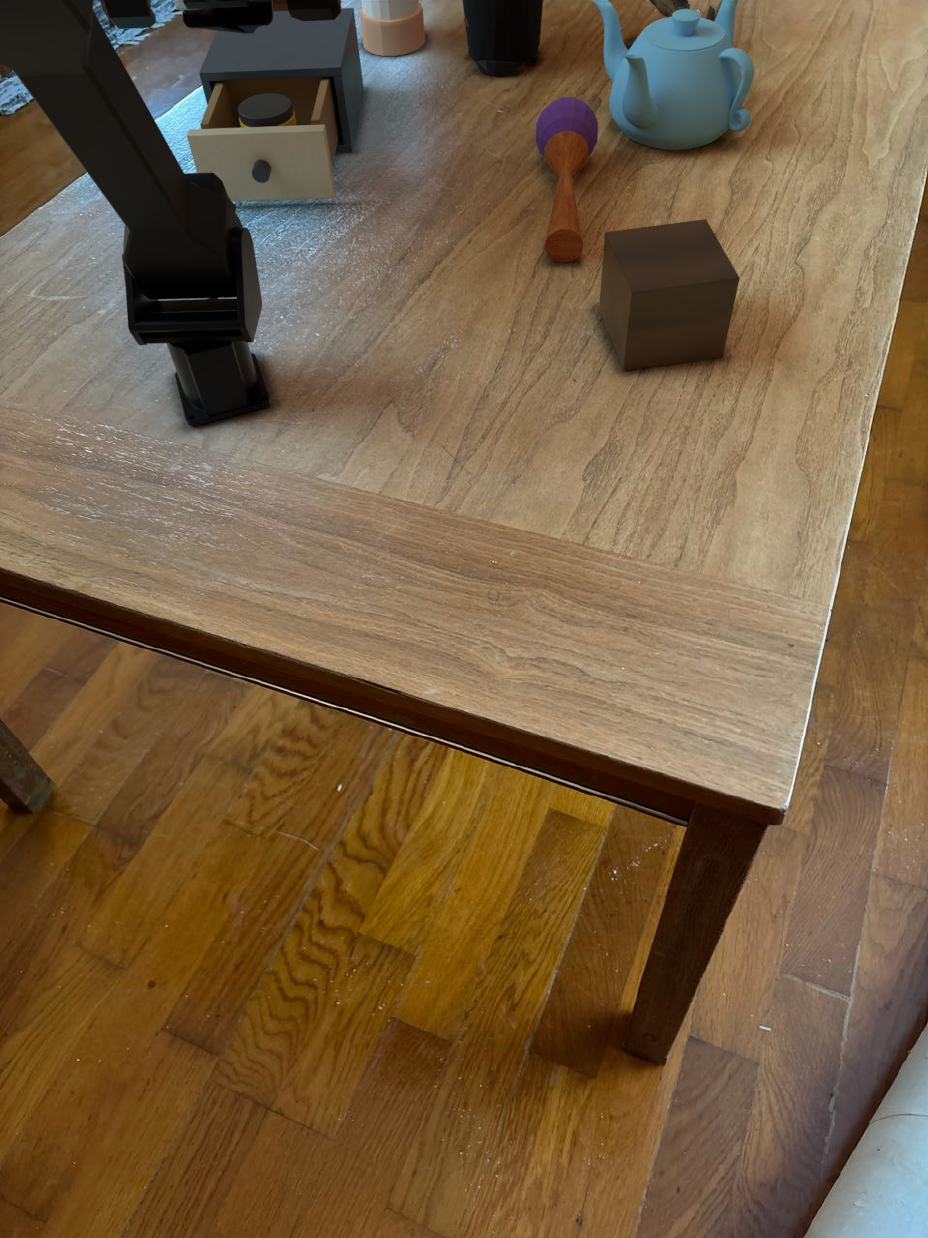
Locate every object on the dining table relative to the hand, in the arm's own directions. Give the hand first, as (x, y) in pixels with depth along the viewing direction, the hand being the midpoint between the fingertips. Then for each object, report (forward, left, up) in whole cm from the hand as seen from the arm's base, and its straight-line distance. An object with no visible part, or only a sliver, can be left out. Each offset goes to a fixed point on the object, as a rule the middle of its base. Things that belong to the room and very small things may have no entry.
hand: (249, 27), depth 82 cm
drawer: (0, 0, -12) cm, 12 cm away
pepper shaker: (+24, -19, -14) cm, 34 cm away
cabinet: (+10, -4, -13) cm, 17 cm away
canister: (0, 0, -11) cm, 11 cm away
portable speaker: (+14, -29, -14) cm, 35 cm away
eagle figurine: (+9, -47, -14) cm, 50 cm away
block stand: (-37, -23, -13) cm, 45 cm away
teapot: (-6, -39, -14) cm, 42 cm away
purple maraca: (-16, -24, -14) cm, 32 cm away
